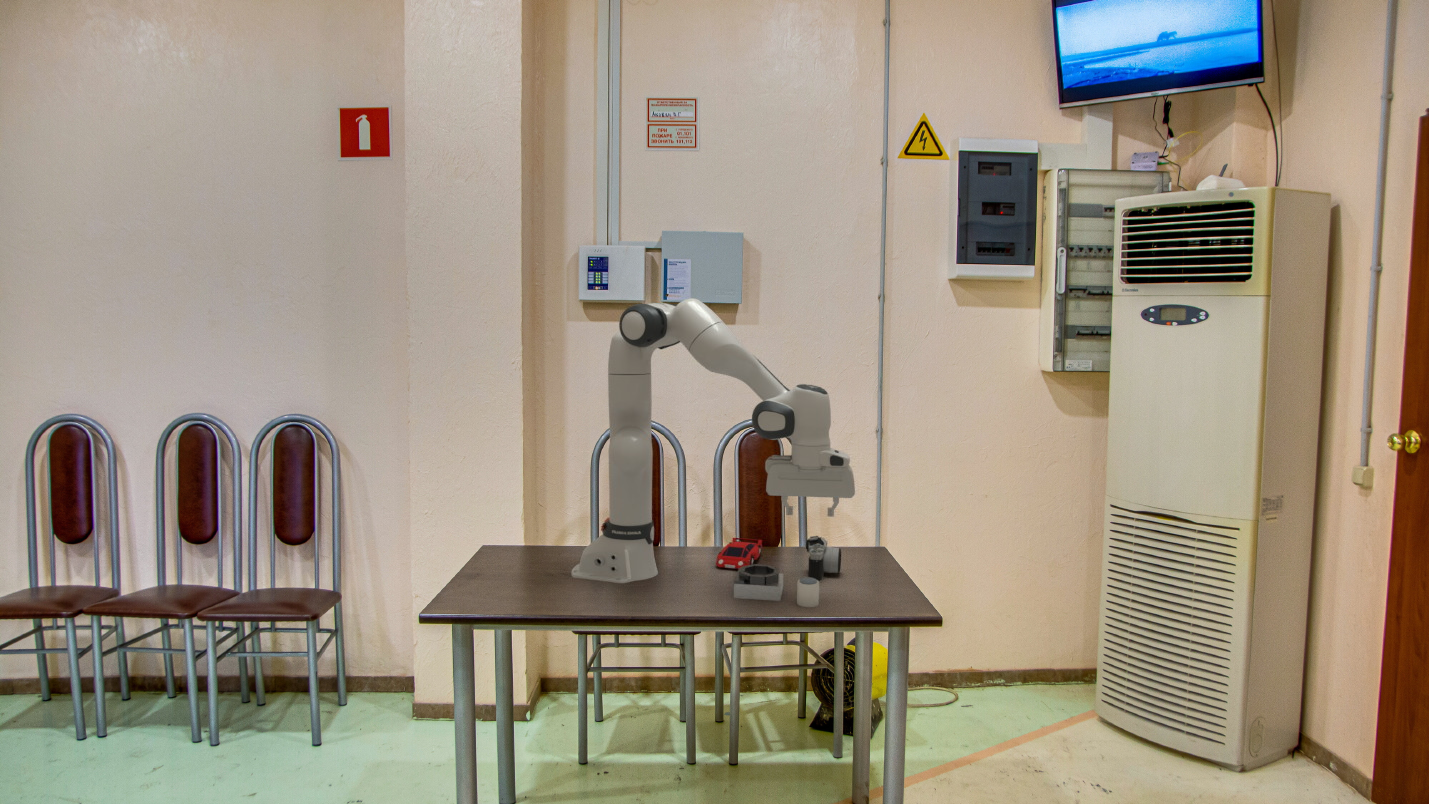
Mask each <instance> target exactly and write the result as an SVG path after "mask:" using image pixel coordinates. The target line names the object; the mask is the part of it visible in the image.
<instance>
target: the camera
mask: <svg viewBox="0 0 1429 804" xmlns="http://www.w3.org/2000/svg"><path fill="white" fill-rule="evenodd" d="M805 549H806V552H807V553H809V556H808V572H807V573H808V577H810V578H815V579H816V580H818V581H819V583H822V582H823V578H824V574H825V573H829V574H832V573H833V574H835V573H837V574H839V573H840V572H841V569H842V568H841V566H842V565H841V564H842V549H841V548H840V547H834V546H828V541H827V539H825V538H824V537H822V536H821V537H820V536H819V535H812V536H809V538H808V539H806V540H805Z"/></svg>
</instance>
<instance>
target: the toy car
mask: <svg viewBox="0 0 1429 804" xmlns="http://www.w3.org/2000/svg"><path fill="white" fill-rule="evenodd" d="M762 543H763V540H762V539H753V538H741V537H732V540H731V541H730V542H728V544H726V546H724V547H723V549H721V551H719V553H718V554H717V556H716V562H715V565H716V567H719V568H724V569H725V568H726V569H736V570H739V568H741V567H743V566H747V565H752V564H753V565H754V564H755V562H754V561H756V560H758V558H759V557H761V554H762V550H763V544H762Z"/></svg>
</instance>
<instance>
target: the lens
mask: <svg viewBox="0 0 1429 804" xmlns="http://www.w3.org/2000/svg"><path fill="white" fill-rule="evenodd" d="M796 584H797V585H796V588H797V591H796V592H797V593H796V595H797V596H796V605H798V606H800V607H802V608H816V607H818V606H819V604H820V603H819V601H820V597H819V596H820V582H819V581H818V580H816V579H815V578H810V577H807V576H806V577H802V578H799V579H798V580H797V583H796Z"/></svg>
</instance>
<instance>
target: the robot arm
mask: <svg viewBox="0 0 1429 804" xmlns="http://www.w3.org/2000/svg"><path fill="white" fill-rule="evenodd" d="M618 328H619V332H616V333H615V334H614V335H613V337H611V341H610V347H609V352H608V360H607V361H608V363H607V366H608V367H607V373H608V375H607V377H608V378H607V379H608V380H607V390H608V391H607V393H608V395H607V396H608V419H609V420H608V421H609V422H608V423H609V444H608V485H609V487H608V491H609V493H608V494H609V499H608V500H609V503H608V504H609V517H607V518H606V519H605V520H604V522H603V523H602V524H601V526H600V528H601V529H600V531H601V532H602V534H601V535H600V536H598V537H597V538H596V539H594V540H593V541H592V542H591V543H589V544H587V545H586V547H585V548H584V549H583V552H582V553H581V557H580V560H579V561H580V562H579V563H577V564H576V565H574V567H573V568H572V569H571V574H570V575H571V577H572V578H575V579H583V580H589V581H599V582H605V583H607V582H609V583H616V584H627V583H630V582H635V581H643V580H648V579H652V578H653V577H656V576H657V575H658V574H659V571H658V568H657V565H656V560H655V555H654V554H655V553H654V545H653V542H654V540H655V539H654V538H655V527H654V520H653V519H652V518H653V511H652V510H653V505H652V504H653V455H654V454H653V442H652V402H653V401H652V356H653V354H654V352H655V351H656V350H657V349H659V350H664V349H667V348H669V347H672V346H676V345H678V344H680V343H681V344H682V345H683V346H684V347H685V349H686V350H687V351H688V352H689V354H690V355H691V356H692V357H693V359H694V360H695V361H696V362H697V363H699V364H700V365H701V366H702V367H703V368H705V369H706V370H707V371H709V372H711V373H715V374H719V375H720V374H721V375H724V376H725V375H726V376H729V377H732V378H735V379H737V380H739V381H741V382H743V384H746V385H747V386H748V387H749V388H750V389H751V390H752V391H753V392H754V393H755V394H756V395H757V397H758V398H760V400H762V401H761V402H759V403H758V404H756V406H755V407H754V409H753V410H752V415H751V424H752V427H753V429H754V431H755V433H756V434H757V435H758V436H759V437H761V438H763V439H765V440H771V441H776V440H781V439H785V438H788V439H790V440H791V451H790V452H791V454H789V455H786V454H784V455H778V454H773V455H771V456H769V457H768V458H767V459H766V460H765V465H764V470H765V472H766V474H767V478H766V487H765V491H766V493H767V495H768V496H776V497H778V496H779V497H780V496H781V498H780V499H781V503H782V504H783V505H784V507H785V514H786V516H793V514H794V511H793V510H794V507H793V506H792V505H790V504H789V503H788V500H789V497H801V498H802V497H805V498H806V497H807V498H811V497H812V498H832V506H831V507H827V517H830V518H831V517H833V518H834V517H835V509H836V508H837V506H838V505H839V503H840V499H852V498H853V497H854V496H855V495H856V485H855V477H854V472H853V469H852V467H851V465H850V462H851V457H850V455H849V454H848V453H847V452H844V451H841V450H838V449H835V448H832V447H831V439H830V428H831V424H832V423H831V421H832V420H831V418H832V415H831V414H832V413H831V400H830V396H829V393H828V391H827V390H826V389H825V388H822V387H820V386H818V385H814V384H804V383H800V384H797V385H795V386H794V387H793V388H792V389H789V388H788V387H787V386H785V385H784V383H783V382H781V380H780V379H778V377H776V376H775V375H774V374H773V373H772V372H771V370H769V369H768V368H767V366H766V365H765V364H763V363H762V362H761V360H759V358H757V357H756V356H755V355H754V354H753V353H752V352H751V351H750V350H749V349H748V348H747V346H745V345H744V344H743V342H741V341H740V339H739V338H738V337H737V336H736V335H735V333H734V332H733V331H732V330H731V329H730V328H729V327H728V325H727V324H726V323H725V322H724V321H723V320H722V319H721V318H720V317H719V315H717V314H716V312H714V310H712V309H711V308H710V307H709V306H707V305H706V304H705V303H704V302H702V300H699V299H698V298H694V297H693V298H692V297H691V298H685V299H684V300H681V301H680V302H679V303H678V304H675V303H665V302H651V303H637V304H633V305H631V306H629V307H627V308H626V309H624V311H622V314H621V315H620V319H619V326H618Z"/></svg>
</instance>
